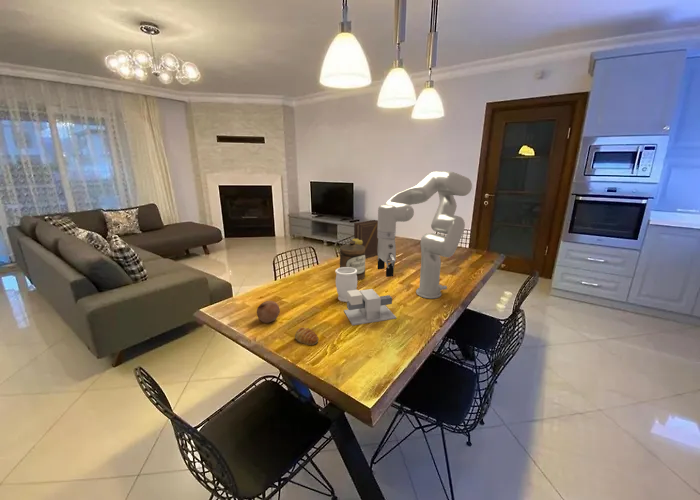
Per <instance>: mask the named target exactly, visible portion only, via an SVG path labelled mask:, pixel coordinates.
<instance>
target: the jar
mask: <svg viewBox="0 0 700 500" xmlns="http://www.w3.org/2000/svg"><path fill="white" fill-rule="evenodd" d="M335 274H336V276H335V287H336V292H337V294H338V296H337V299H338V300H339V301H340V302H343V303H347V301H348V300H347V291H351V290H357V287H358V281H357V275H356V274H357V269H355V268H352V267H342V268H340V267H338V268H336V269H335Z"/></svg>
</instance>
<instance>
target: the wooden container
mask: <svg viewBox="0 0 700 500" xmlns="http://www.w3.org/2000/svg"><path fill="white" fill-rule="evenodd" d="M342 267H352V268H355V269H357V274H356V275H357V282H358V281H361V280H364V279H365V277H366V259H365V246H363V245H359V244H355V241H353V240H352V239H351V240H350V241H349V243H347V244H346V243H345V244H342V245H341V246H340V247H339V268H342Z"/></svg>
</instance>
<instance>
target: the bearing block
mask: <svg viewBox="0 0 700 500" xmlns="http://www.w3.org/2000/svg"><path fill="white" fill-rule="evenodd" d="M359 291H360V293H361V294H362V295H363V298H362V299H364V301H365V308H361V309H355V310H349V309H348V308H347V309H344V310H343V313H344V314H345V316H346V317H347V319H348V320H349V322H350V324H351V326H357V325H364V324H370V323H377V322H382V321H389V320H395V319H397V316H396V315H395V314H394V313H393V312H392V311H391V309H389V308H388V307H387V305H382V306H381V298H380V296H379V294H378V293H377V292H376V291H375V290H374V289H373V288H369V289H362V290H361V289H360V290H359Z"/></svg>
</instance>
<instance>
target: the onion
mask: <svg viewBox="0 0 700 500" xmlns="http://www.w3.org/2000/svg"><path fill="white" fill-rule="evenodd" d="M280 312H281V309H280V306H279V305H278V303H277V302H276V301H274V300H266V301H264V302H262V303H261V304H259V305H258V306H257V309H256V316H257V319H259V320H258V321H261V322H262V323H265V324H268V323H271V322H274V321H275V320H277V318H278V317H279V315H280Z"/></svg>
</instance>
